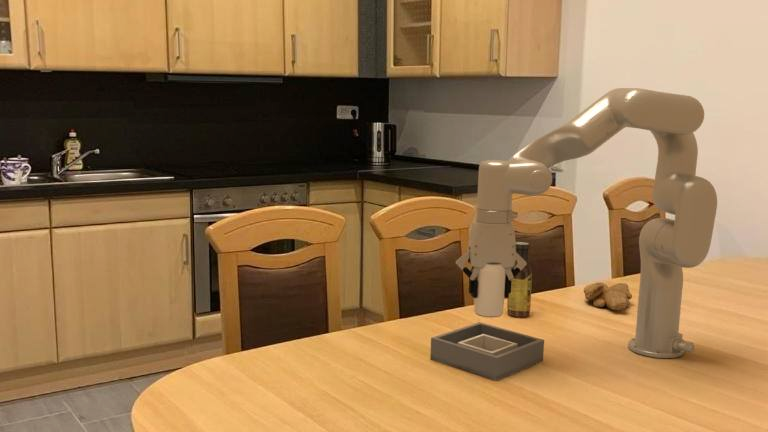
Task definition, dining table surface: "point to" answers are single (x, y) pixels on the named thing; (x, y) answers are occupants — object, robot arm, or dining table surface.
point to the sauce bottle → (521, 286)
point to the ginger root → (608, 295)
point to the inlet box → (487, 350)
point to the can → (490, 291)
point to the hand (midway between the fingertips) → (489, 295)
